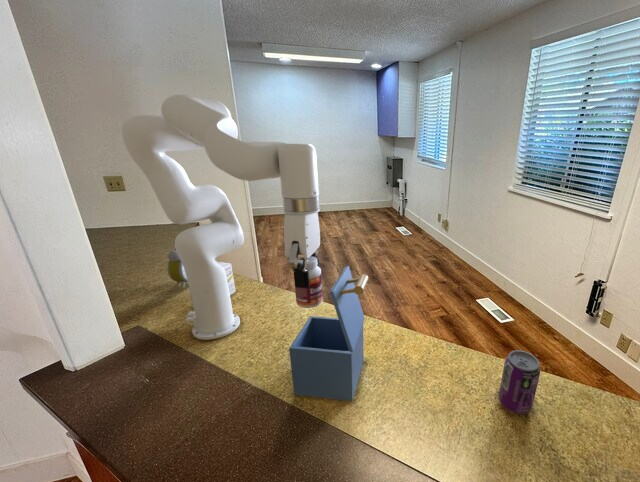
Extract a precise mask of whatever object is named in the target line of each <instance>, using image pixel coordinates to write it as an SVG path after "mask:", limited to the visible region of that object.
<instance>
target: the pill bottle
mask: <svg viewBox="0 0 640 482" xmlns="http://www.w3.org/2000/svg"><path fill="white" fill-rule="evenodd" d="M317 259H318V258H316V257H313V256H310V257H309V258H308V259H307V271H309V284H310V286H309V288H299V287H295V286H294V293H295V302H296V305H297V306H298V307H299V308H303V309H313V308H316V307H318V306H319V305H321V304H322V303H323V300H324V299H323V298H324V297H323V281H322V280H323V279H322V270H321V269H322V268H321V267H320V266H319V267H318V266H317V264H318V263H317ZM298 263H301V264H302V266H303V260H298Z"/></svg>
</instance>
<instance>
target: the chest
mask: <svg viewBox="0 0 640 482" xmlns="http://www.w3.org/2000/svg"><path fill="white" fill-rule="evenodd" d="M288 352H289V360H290V368H291V379H292V388H293V395H295V396H304V397H311V398H312V397H313V398H320V399H321V398H322V399H330V400H340V401H348V402H349V401H350V402H353V401H354V397H355V394H356V391H357V386H358V383H359V380H360V376H361V374H362V369H363V367H364V363H365V362H364V361H365V360H364V324H363V325H362V328H361V331H360V334H359V336H358V339H357V342H356V345H355V348H354V351H353V352H349V349H348V346H347V343H346V340H345V337H344V334H343V331H342V328H341V325H340V322H339V319H338V317H327V316H315V315H310V316H309V317H308V318H307V320H306V322H305V323H304V325H303V326H302V328H301V329H300V331H299V332H298V334H297V335H296V337H295V338H294V340H293V342H292V343H291V345H290V346H289V347H288Z"/></svg>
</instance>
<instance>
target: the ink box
mask: <svg viewBox="0 0 640 482" xmlns="http://www.w3.org/2000/svg"><path fill="white" fill-rule="evenodd" d="M216 262H217V263H219V264H220V265H221V266H222V267H223V268H224V269H225V272H226V276H227V282H228V287H229V293H230V296H231V295H234V293H236V286H235V279H234V274H233V267H232V263H230V262H222V261H216Z"/></svg>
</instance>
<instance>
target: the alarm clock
mask: <svg viewBox="0 0 640 482" xmlns="http://www.w3.org/2000/svg"><path fill="white" fill-rule="evenodd" d="M167 258H168V262H167V269H166V270H167V273H168V276H169V278H170V279H171V280H172V281H174V282H176V283H177V284H180V285H181V286H180V287H181V290H184V289H185V286H186V284H187V283H188V281H187V277H186V273H185V270H184V267H183V264H182V262H181V259H180V257H179V255H178V253H177V251H176V249H172V250H171V251H170V252H169V253H168V257H167Z"/></svg>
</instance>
